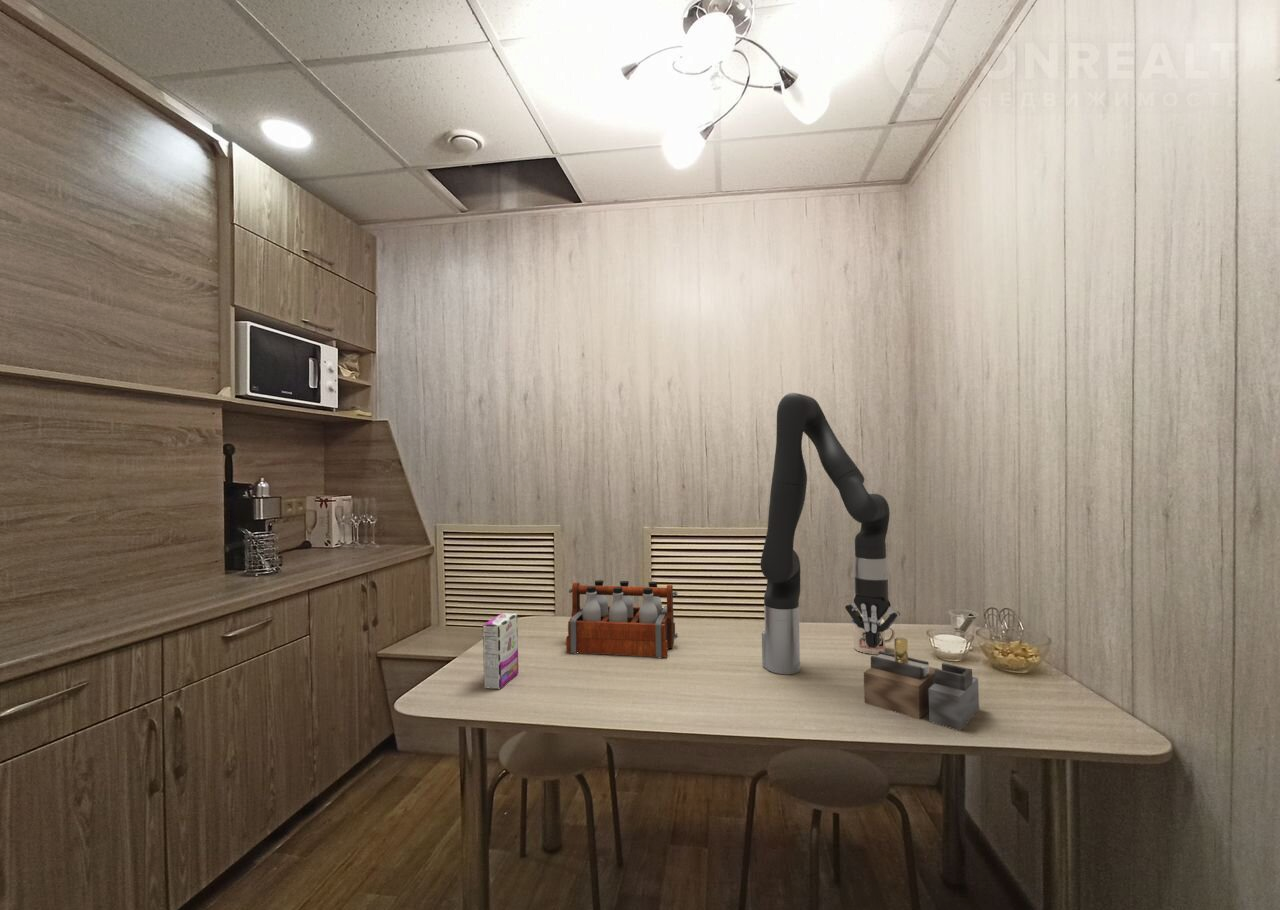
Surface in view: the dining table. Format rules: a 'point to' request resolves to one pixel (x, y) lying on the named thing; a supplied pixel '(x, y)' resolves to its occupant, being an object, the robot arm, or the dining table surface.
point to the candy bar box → (500, 650)
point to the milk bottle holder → (621, 620)
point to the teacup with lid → (861, 640)
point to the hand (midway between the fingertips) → (873, 646)
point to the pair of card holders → (923, 690)
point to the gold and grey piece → (904, 655)
